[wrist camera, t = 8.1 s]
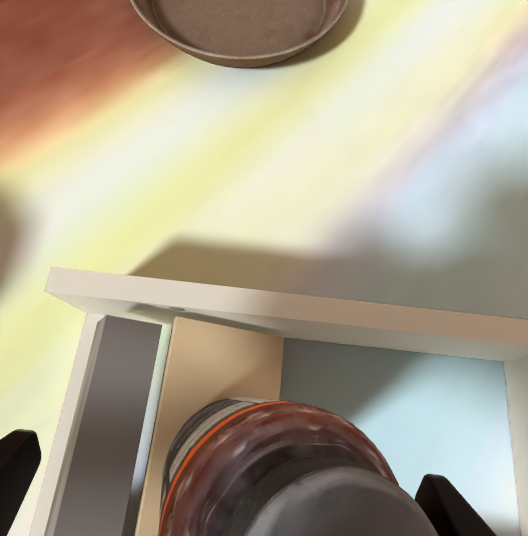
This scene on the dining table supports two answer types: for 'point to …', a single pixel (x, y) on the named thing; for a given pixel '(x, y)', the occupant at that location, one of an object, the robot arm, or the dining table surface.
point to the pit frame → (290, 326)
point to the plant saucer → (241, 27)
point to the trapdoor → (134, 407)
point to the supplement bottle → (280, 476)
